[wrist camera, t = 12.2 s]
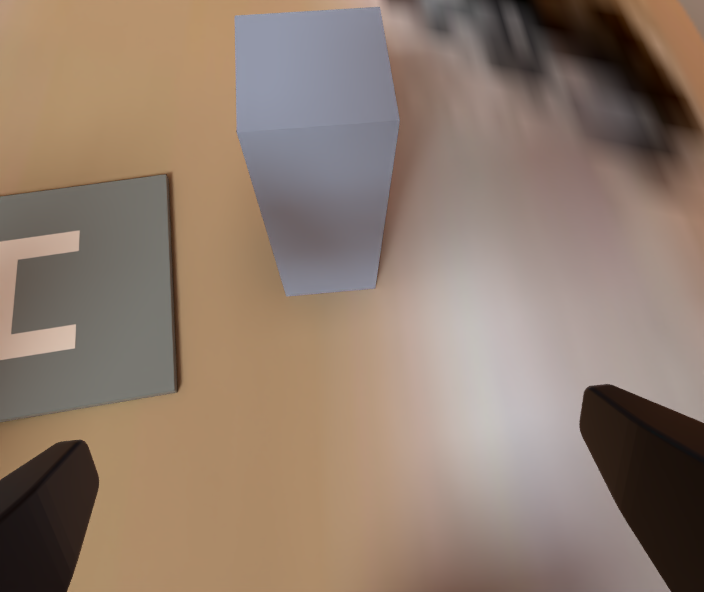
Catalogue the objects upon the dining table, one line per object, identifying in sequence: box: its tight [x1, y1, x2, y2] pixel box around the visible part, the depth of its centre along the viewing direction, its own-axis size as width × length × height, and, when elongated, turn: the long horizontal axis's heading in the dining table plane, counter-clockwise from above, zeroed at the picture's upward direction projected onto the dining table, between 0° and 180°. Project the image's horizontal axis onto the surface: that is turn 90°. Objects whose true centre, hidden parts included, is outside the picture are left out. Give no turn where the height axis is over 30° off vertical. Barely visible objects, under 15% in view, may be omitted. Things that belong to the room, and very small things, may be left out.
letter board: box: [0, 174, 177, 422], centre depth 24 cm, size 12×16×1 cm
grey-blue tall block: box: [235, 7, 400, 296], centre depth 20 cm, size 4×4×12 cm
